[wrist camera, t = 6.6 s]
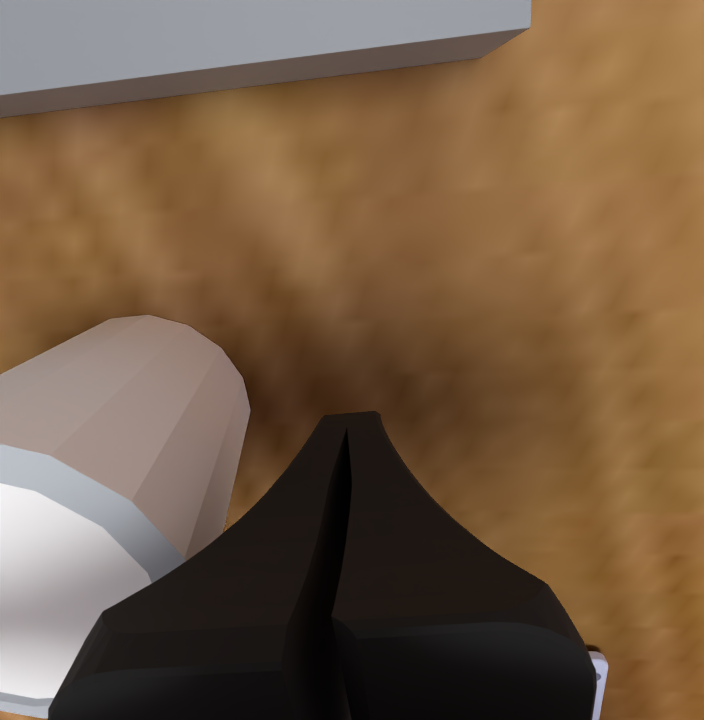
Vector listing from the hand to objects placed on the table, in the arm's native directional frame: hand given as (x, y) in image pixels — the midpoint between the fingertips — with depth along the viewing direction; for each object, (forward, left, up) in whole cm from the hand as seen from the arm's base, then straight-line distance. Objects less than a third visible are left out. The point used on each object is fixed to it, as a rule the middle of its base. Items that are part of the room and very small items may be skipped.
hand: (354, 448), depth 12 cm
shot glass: (0, +6, -3) cm, 7 cm away
